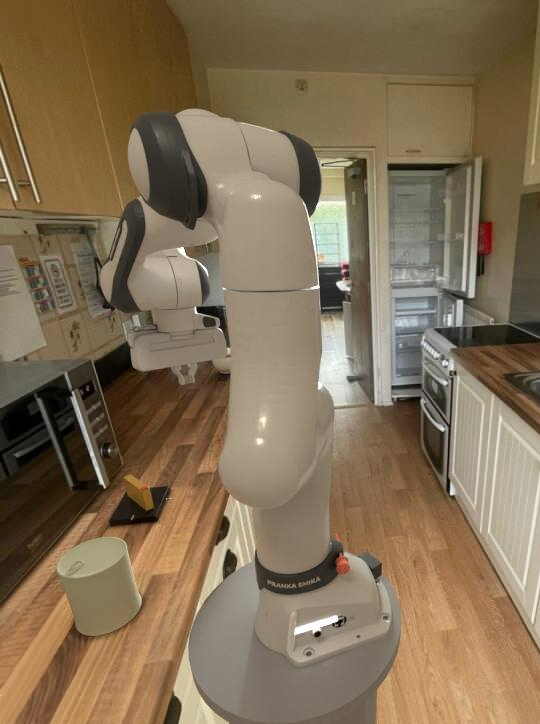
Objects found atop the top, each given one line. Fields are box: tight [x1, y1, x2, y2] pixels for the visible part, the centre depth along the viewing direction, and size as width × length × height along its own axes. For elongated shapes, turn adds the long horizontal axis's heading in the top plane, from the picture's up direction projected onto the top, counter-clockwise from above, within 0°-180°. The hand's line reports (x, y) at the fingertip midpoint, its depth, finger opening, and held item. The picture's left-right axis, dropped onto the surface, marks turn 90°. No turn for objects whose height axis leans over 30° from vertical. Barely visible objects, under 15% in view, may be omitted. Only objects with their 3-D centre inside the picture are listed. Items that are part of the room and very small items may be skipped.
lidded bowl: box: [211, 347, 231, 374], centre depth 188 cm, size 13×13×11 cm
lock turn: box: [123, 474, 154, 511], centre depth 94 cm, size 9×2×5 cm, turn 52°
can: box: [55, 536, 143, 637], centre depth 67 cm, size 9×9×12 cm
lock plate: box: [107, 485, 174, 527], centre depth 95 cm, size 13×13×2 cm
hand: (187, 383), depth 97 cm, fingers closed
